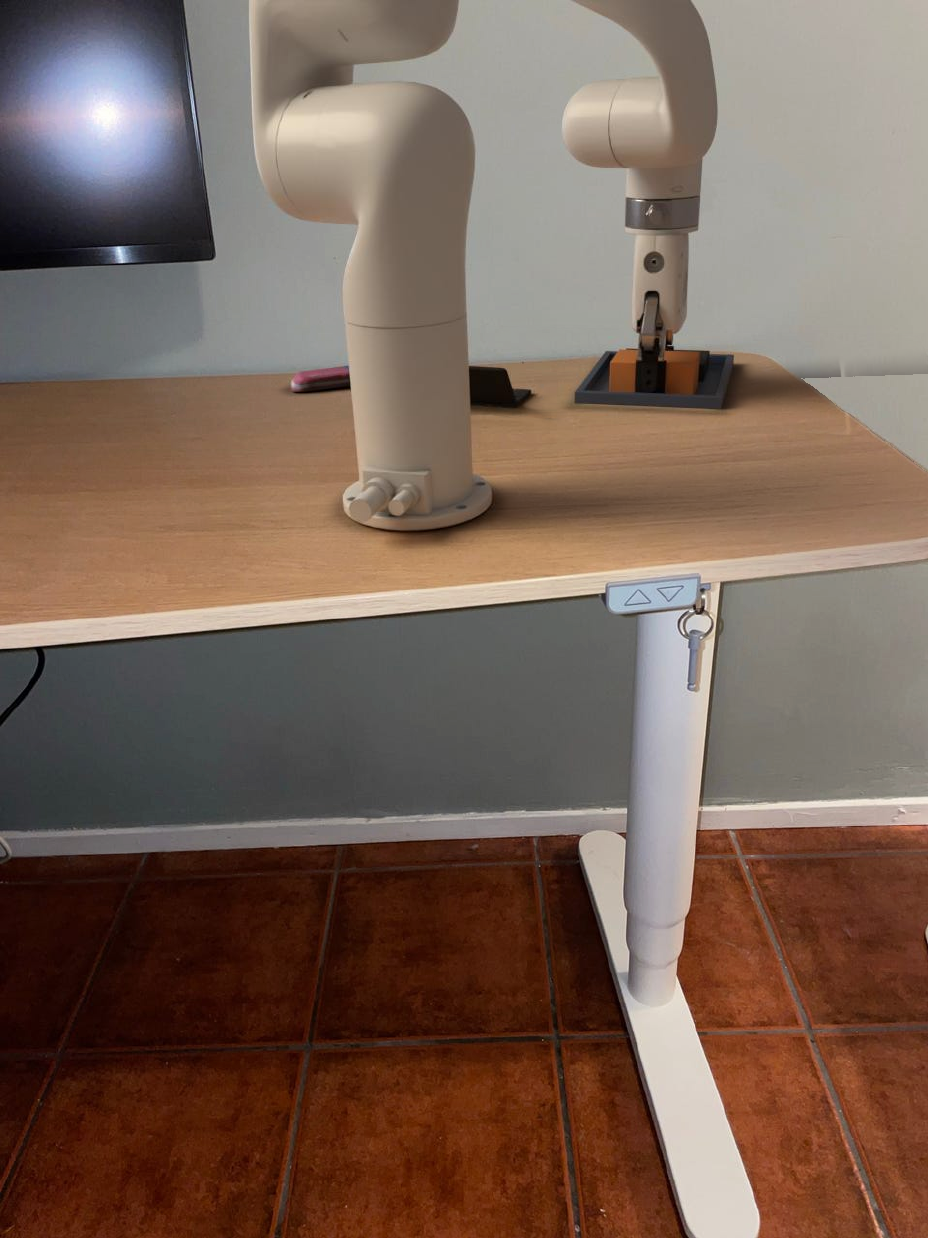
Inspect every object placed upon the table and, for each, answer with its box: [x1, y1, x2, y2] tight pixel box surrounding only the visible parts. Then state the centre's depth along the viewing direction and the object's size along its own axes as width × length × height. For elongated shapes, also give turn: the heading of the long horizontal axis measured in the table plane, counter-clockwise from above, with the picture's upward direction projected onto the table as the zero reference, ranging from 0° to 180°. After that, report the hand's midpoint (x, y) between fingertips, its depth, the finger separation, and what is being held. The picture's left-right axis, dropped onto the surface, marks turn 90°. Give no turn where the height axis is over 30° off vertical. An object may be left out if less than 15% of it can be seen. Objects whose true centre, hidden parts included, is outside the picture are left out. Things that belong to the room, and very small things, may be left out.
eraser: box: [290, 364, 351, 393], centre depth 121 cm, size 11×4×2 cm, turn 105°
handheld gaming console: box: [469, 365, 532, 409], centre depth 110 cm, size 12×7×10 cm
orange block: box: [609, 349, 700, 395], centre depth 110 cm, size 6×9×4 cm, turn 73°
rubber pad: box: [625, 347, 711, 382], centre depth 118 cm, size 7×10×2 cm
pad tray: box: [574, 350, 735, 410], centre depth 115 cm, size 20×16×2 cm
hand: (653, 387), depth 111 cm, fingers closed on orange block, 6 cm apart
